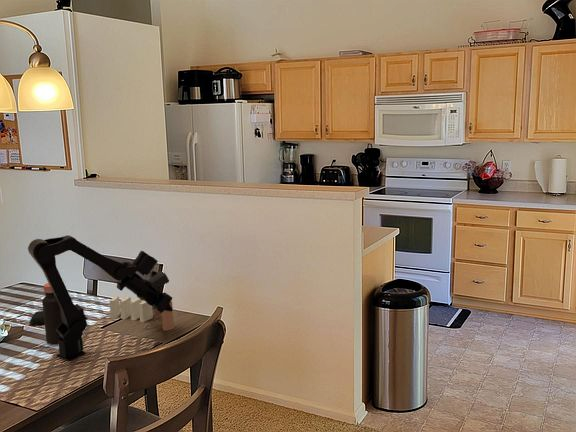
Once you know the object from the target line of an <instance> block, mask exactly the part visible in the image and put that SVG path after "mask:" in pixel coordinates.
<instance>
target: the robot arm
mask: <svg viewBox="0 0 576 432" xmlns="http://www.w3.org/2000/svg"><path fill="white" fill-rule="evenodd" d="M27 251H28V253H29V255H30V257H31V258H32V259H33V260H34V262H36V264H37V265H38V266H39V268H40V270H41V271H42V273H43V274H44V277H45V279H46V281H47V283H49V285H50V287H51V289H52V291H53V293H54V296H55V298H56V300H57V302H58V304H59V306H60V311H61V318H62V323H61V324H60V325H59V326H58V328H57V329H56V331H57V333H58V335H60V336H61V337H60V339H58V343H59V344H58V352H59V354H56V357H57V358H60V359H62V360H66V361H69V362H70V361H72V360H74V359H78V357H81V356H83V355H86V352H87V351H85V350H84V342H83V338H82V336H83V333H84V331H85V330H86V328H87V327H88V323H87V321H88V319H89V318H88V317H87V316H86V314H85V310H84V308H83V307H82V306H80V304H78V303H76V304H74V301H73V300H72V297H71V296H70V294H69V292H68V289H67V287H66V285H65V283H64V281H63V278H62V277H61V274H60V271H59V269H58V267H57V262H56V256H60V255H61V254H63V253H65V252H68V251H71V252H73V253H75V254H76V255H78V256H80V257H82V258H83V259H85V260H87V261H89V262H90V263H93V264H94V265H96V266H98V268H99V269H101V270H102V271H103V272H104V273H105V274H107V275H108V276H109V277H111V278H112V279H114V280H115V281H116V289H118V290H119V291H120V292H121V291H123V290H124V289H125V288H126V289H128V291H130V292H132V293H133V294H134V295H136V297H137V298H139V299H141V300H142V302H144V301H146V302H147V304H149V305H151V306H152V309H155V310H156V311H157V312H159V313H161V314H162V312H163V311H164V310H166V311H172V310H173V309H174V308H172V307H173V306H172V307H171V306H170V304H169V303H170V302H171V301H172V300H173V296H171V295H169V294H168V293H166V292H161V288H162V287H163V286H164V285H166V284H169V282H170V279H169V277H168V276H167V274H166V272H164V271H161V270H160V271H159V270H158V271H155V270H153V269H154V268H155V266H156V265H157V264H158V260H157V259H156V258H155V257H153V256H151V255H149V254H148V253H146V251H144V250H141V251H139V253H138V255H137V256H136V258H135V259H134V260H133V261H132V262H130V261H120V260H118V259H116V258H112V257H109V256H106V255H103V254H101V253H99V252H98V251H96V250H94V249H93V248H90V247H89V246H87V245H86V244H84V243H82V242H81V241H78V240H77V238H75V237H73V236H72V235H64V236H60V237H59V236H58V237H53V238H46V239H41V238H36V239H33V240H32V241H31V242H30V243H29V244H28V246H27ZM139 274H140V275H139ZM141 275H142V276H148V275H149V279H146V278H144V277H142V276H141ZM173 311H174V310H173Z"/></svg>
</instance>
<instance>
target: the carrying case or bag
mask: <svg viewBox="0 0 576 432" xmlns="http://www.w3.org/2000/svg"><path fill="white" fill-rule="evenodd" d="M29 323H30V324H31V325H33V326H39V325H42V326H43V325H45V323H44V314H43V310H38V311H35V312H34V314H32V316H31V318H30V320H29Z"/></svg>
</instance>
